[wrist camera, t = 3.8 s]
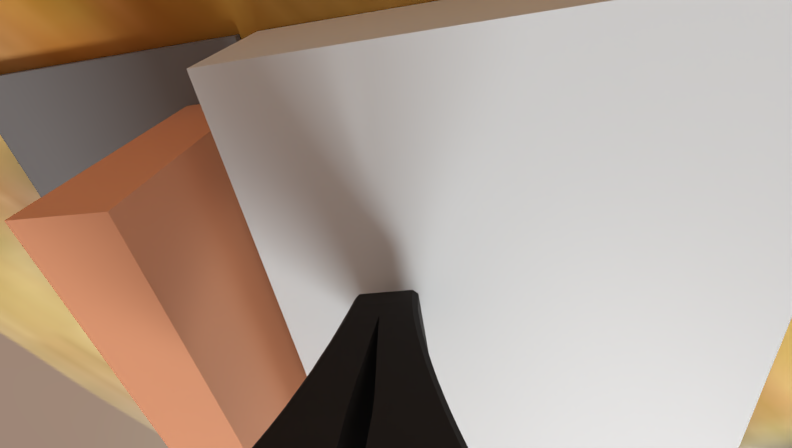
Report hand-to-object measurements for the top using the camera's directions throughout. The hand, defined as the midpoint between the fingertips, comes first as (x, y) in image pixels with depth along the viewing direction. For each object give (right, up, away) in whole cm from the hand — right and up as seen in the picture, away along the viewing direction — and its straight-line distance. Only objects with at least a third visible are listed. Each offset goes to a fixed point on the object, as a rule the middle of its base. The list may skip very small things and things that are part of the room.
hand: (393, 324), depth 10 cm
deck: (+4, 0, +5) cm, 6 cm away
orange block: (-3, 0, +2) cm, 4 cm away
